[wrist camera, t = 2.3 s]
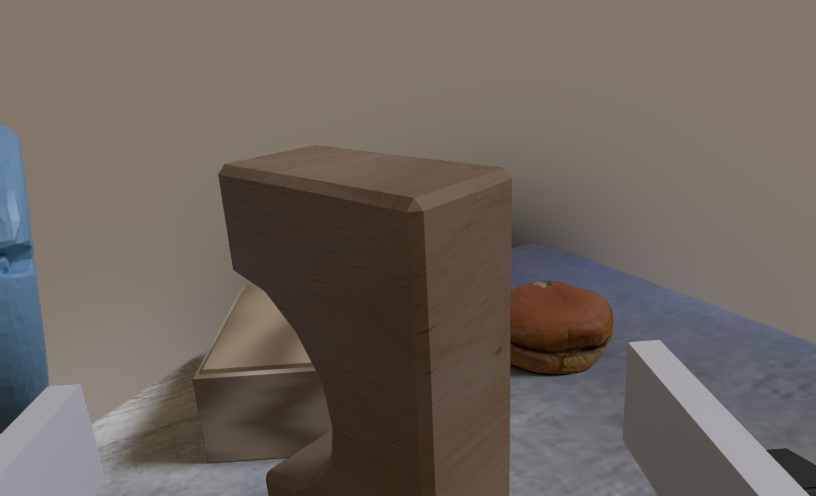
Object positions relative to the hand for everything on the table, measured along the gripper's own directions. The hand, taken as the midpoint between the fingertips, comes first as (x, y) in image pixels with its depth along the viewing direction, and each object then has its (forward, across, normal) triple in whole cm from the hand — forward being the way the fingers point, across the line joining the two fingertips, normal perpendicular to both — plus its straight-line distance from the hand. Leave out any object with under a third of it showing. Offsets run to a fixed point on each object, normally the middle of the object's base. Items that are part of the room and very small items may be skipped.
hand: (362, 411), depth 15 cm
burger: (+31, +13, -16) cm, 38 cm away
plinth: (+26, -5, -16) cm, 31 cm away
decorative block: (+10, 0, -16) cm, 19 cm away
